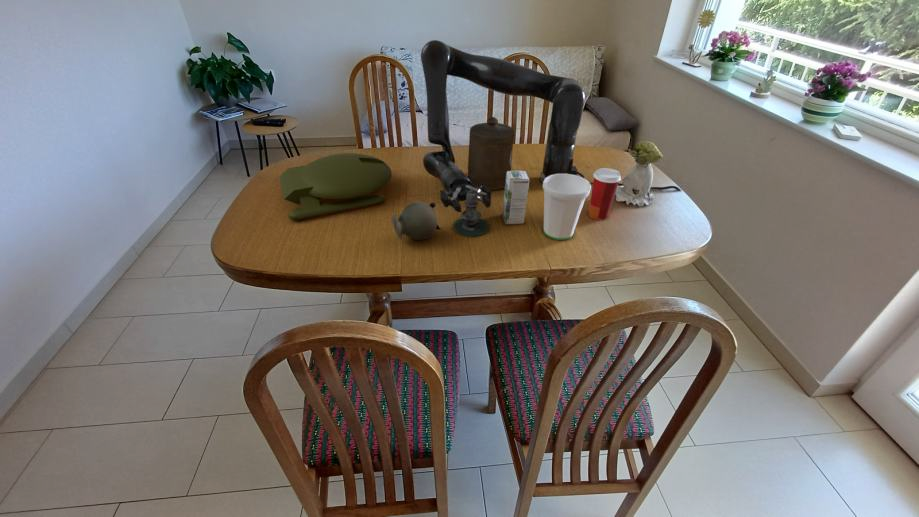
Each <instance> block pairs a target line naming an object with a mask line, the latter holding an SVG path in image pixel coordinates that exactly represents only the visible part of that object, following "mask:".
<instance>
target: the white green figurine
mask: <svg viewBox="0 0 919 517" xmlns="http://www.w3.org/2000/svg"><path fill="white" fill-rule="evenodd" d="M627 151H628V154H629V155H630V156H631V157H632V158H633V159H634V161H635V163H636V164H635V165H634V166H633V167H632V168H631V169H630V170H629V172H627V174H626V175H625V176H624V177H623V179H621V184H623V185H624V186H618V187H617V190H616V193H615V196H616V197H615V200H616V202H625V203H626V206H628V205H630V203H631V204H632V205H633V206H636V205H637V207H639V208H640V207H644V206H645V205H646V206H650V204H651V203H652V202H653V198H654V194H653V192H651V189H650V187H652V185H653V180H654V170H653V167H652V164H655V163H657V162H659V161H660V160H662V158H664V155H663V154H662V152H661V151H660V149H659V147H658V146H656V144H654V143H653V142H650V141H645V140H642V141H638V142H636V143H634V146H633V148H632V149H631V148H628V150H627ZM633 190H636V191H639V192H638V193H637V194H634V191H633Z"/></svg>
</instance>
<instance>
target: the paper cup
mask: <svg viewBox="0 0 919 517" xmlns="http://www.w3.org/2000/svg"><path fill="white" fill-rule="evenodd" d="M592 177H593V181H592V183H593V184H592V186H591V194H590V195H591V196H590V201H589V209H588V216H589V217H590V218H592V219H593V220H598V221H603V220H606V219H608V216H609V213H610V211H611V207H612V204H613V202H614V198H615V196H616V194H615V193H616V190H617V187H618V184H619V183H620V181H622V176H621V172H620V171H619V170H616V169H614V168H610V167H601V168H597V169H596V170H595V171H594V173H593V174H592Z"/></svg>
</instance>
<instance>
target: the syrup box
mask: <svg viewBox="0 0 919 517" xmlns="http://www.w3.org/2000/svg"><path fill="white" fill-rule="evenodd" d="M529 187H530V178H529V175H528V173H527V171H526V170H511V171H507V174H506V184H505V187H504V194H503V204H502V219H503V223H504V224H505V225H518V224H519V225H521V224H524V223H525V218H526V210H527V201H528V196H529V195H528V194H529Z"/></svg>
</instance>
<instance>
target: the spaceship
mask: <svg viewBox="0 0 919 517" xmlns="http://www.w3.org/2000/svg"><path fill="white" fill-rule="evenodd" d="M392 176H393V175H392V169H391V167H390V166H389V165H388V164H387V163H386V162H385V161H383V160H382V159H380V158H378V157H375V156H373V155H370V154H364V153H352V152H347V153H345V152H343V153H336V154H335V153H334V154H329V155H327V156H323V157H319V158H317V159H315V160H313V161H310V162H309V163H307V164H306V165H300V166H299V165H298V166H293V167H288V168H287V169H286V170H284V171H283V172H282V173H281V174H280V175H279V176H278V177H279V182H280V188H281V192H282V196H283V200H284V201H288V202H290V203H293V204H296V205H301V207H298V208H295V209H292V210H290V211H289V212H288V215H287V216H288V218H289V219H290V220H293V221H300V220H306V219H310V218H316V217H321V216H325V215H330V214H331V215H332V214H336V213H340V212H346V211H351V210H356V209H361V208H362V209H363V208H367V207H372V206H377V205H380V204H383V203H384V202H385V196H384V195H383V194H379V193H374V192H376V191H378V190H380V189H381V188H383V187H384V186H386V185H387V184H388V183H389V182H390V180H391V178H392ZM371 193H374V194H371ZM324 199H326V200H336V201H331V202H326V203H325V202H324V203H320V201H321V200H324ZM340 199H341V200H340Z"/></svg>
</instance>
